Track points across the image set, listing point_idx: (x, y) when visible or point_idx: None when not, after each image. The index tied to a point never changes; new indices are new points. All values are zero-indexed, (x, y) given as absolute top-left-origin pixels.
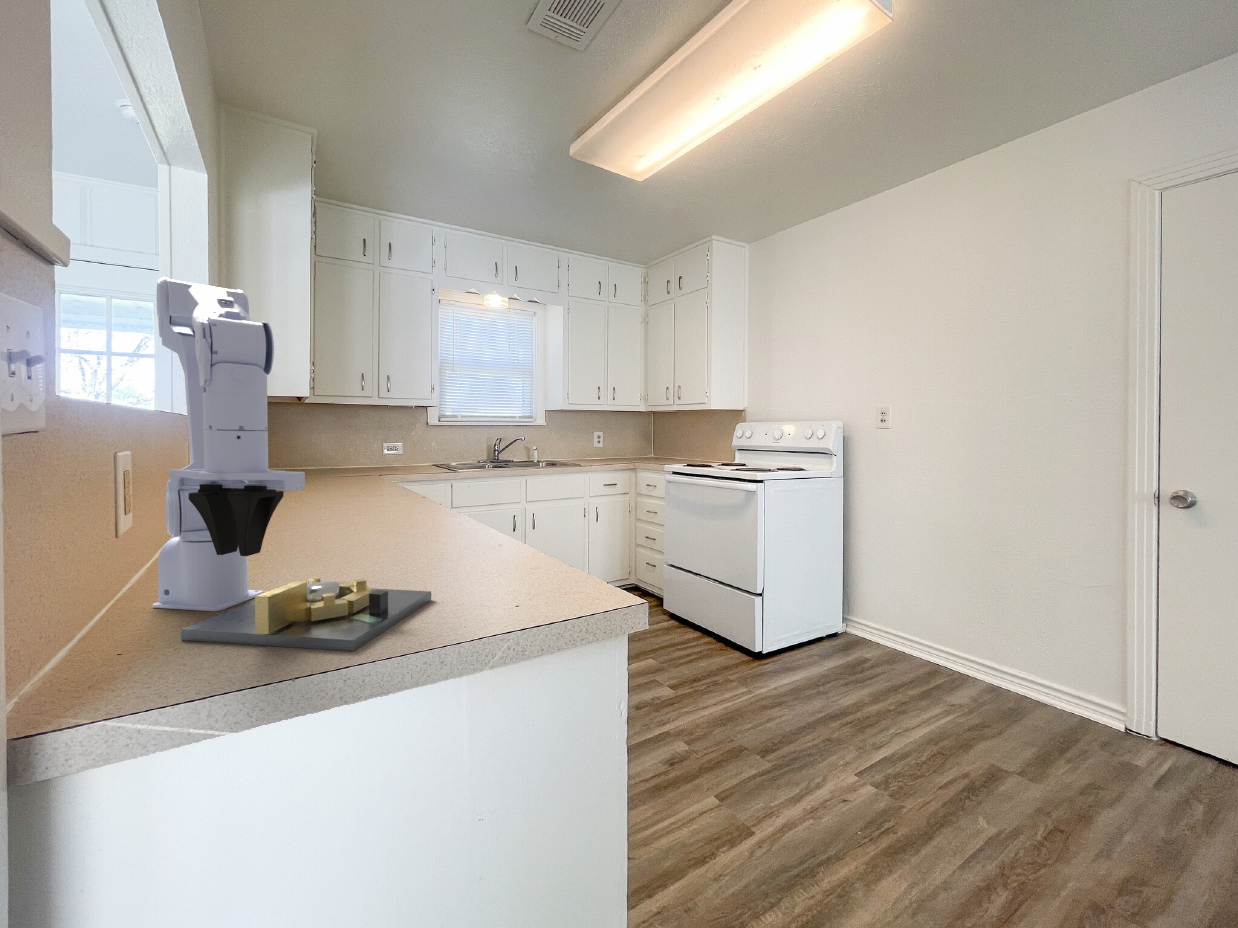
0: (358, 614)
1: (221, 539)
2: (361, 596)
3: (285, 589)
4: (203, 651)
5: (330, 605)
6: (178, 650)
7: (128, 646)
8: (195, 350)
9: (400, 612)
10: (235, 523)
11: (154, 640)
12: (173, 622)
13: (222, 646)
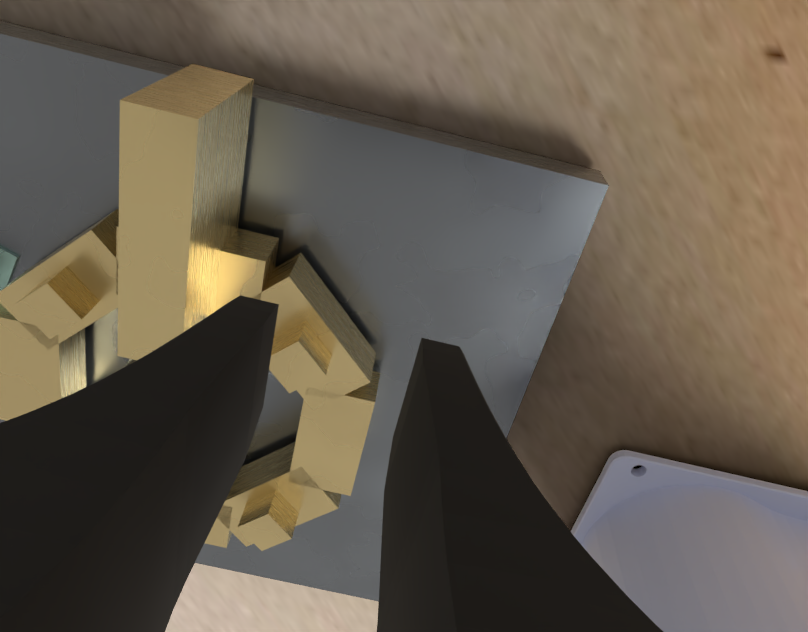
0: (2, 285)
1: (419, 410)
2: None
3: (125, 231)
4: (460, 58)
5: (41, 265)
6: (564, 77)
7: (780, 139)
8: None
9: None
10: (387, 606)
11: (710, 195)
12: (728, 371)
13: (416, 107)
